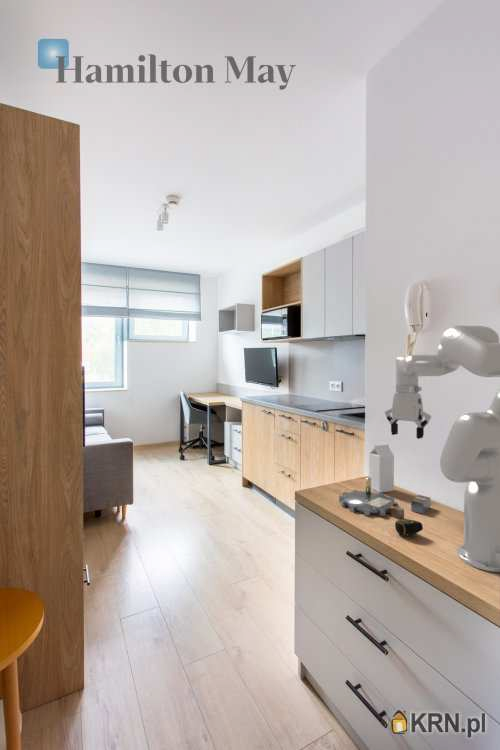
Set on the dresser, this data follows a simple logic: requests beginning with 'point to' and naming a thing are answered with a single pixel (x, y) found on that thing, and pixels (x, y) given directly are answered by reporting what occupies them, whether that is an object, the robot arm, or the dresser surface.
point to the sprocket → (368, 501)
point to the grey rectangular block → (420, 504)
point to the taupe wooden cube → (397, 512)
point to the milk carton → (381, 468)
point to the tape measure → (408, 526)
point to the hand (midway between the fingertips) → (406, 436)
